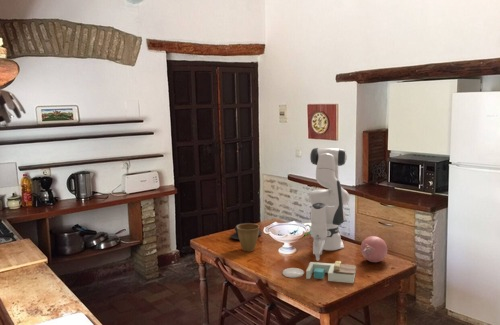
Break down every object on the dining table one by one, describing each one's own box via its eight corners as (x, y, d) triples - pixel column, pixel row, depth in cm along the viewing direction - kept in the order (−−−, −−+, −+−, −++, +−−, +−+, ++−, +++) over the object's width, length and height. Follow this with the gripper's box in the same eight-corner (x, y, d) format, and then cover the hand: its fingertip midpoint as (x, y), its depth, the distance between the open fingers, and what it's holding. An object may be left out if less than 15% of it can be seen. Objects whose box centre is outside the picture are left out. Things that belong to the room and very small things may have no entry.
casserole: (252, 230, 339) (252, 219, 338) (267, 236, 325) (267, 224, 323) (225, 237, 325) (224, 226, 323) (239, 243, 310) (239, 232, 309)
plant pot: (247, 255, 287) (246, 231, 284) (233, 249, 298) (232, 226, 296) (264, 249, 296) (264, 226, 293) (250, 244, 307) (249, 221, 305)
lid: (335, 265, 252) (335, 259, 252) (355, 267, 249) (355, 261, 248) (333, 272, 242) (333, 267, 241) (354, 274, 238) (354, 268, 238)
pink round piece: (351, 263, 266) (351, 238, 264) (370, 255, 280) (370, 231, 277) (373, 270, 255) (373, 244, 253) (392, 261, 268) (392, 236, 266)
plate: (285, 268, 262) (285, 267, 262) (305, 270, 258) (305, 268, 258) (280, 276, 251) (280, 275, 251) (301, 278, 247) (301, 276, 247)
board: (310, 269, 260) (310, 261, 259) (355, 273, 252) (355, 265, 252) (306, 278, 247) (306, 270, 246) (353, 283, 239) (353, 275, 238)
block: (315, 274, 252) (315, 268, 252) (324, 275, 251) (324, 268, 250) (313, 278, 248) (313, 271, 247) (322, 279, 246) (322, 272, 245)
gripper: (321, 239, 235) (322, 264, 236) (327, 228, 254) (327, 251, 256) (309, 238, 236) (310, 263, 238) (316, 227, 256) (316, 251, 258)
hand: (319, 257), depth 247 cm, fingers open, 8 cm apart
